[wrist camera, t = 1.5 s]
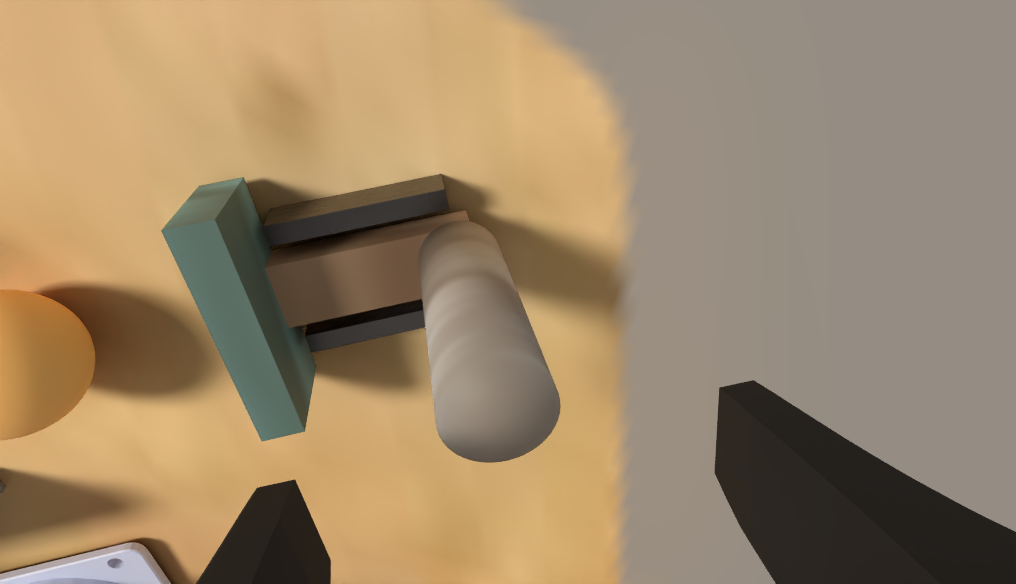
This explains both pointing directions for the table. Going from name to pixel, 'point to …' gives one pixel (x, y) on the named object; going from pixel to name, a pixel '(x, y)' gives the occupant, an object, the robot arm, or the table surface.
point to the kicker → (358, 288)
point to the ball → (40, 362)
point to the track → (348, 216)
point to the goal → (1, 487)
